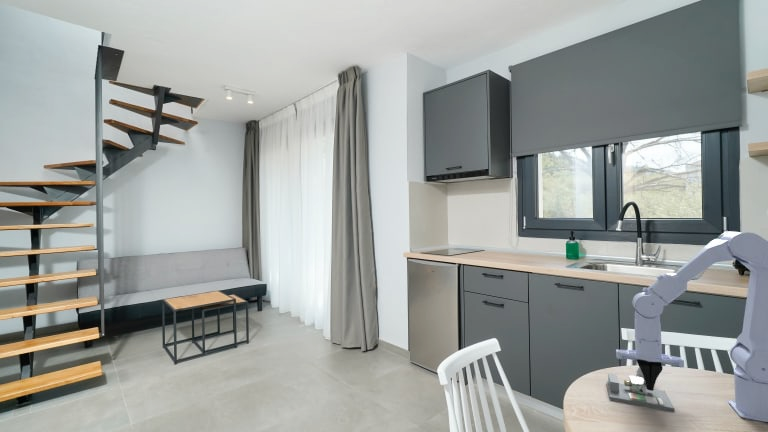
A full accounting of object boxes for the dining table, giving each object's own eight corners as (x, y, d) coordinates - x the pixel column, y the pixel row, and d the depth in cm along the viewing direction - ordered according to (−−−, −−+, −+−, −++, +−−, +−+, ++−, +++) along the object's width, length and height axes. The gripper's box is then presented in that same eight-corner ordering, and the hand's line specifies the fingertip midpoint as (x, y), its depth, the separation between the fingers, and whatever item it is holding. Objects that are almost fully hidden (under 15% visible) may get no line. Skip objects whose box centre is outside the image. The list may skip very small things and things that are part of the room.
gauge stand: (665, 393, 95) (664, 381, 95) (674, 411, 87) (674, 398, 87) (606, 383, 102) (606, 372, 102) (609, 399, 93) (609, 387, 93)
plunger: (643, 386, 97) (642, 377, 97) (648, 400, 90) (648, 390, 90) (623, 383, 99) (623, 374, 99) (627, 396, 92) (627, 386, 92)
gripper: (678, 337, 95) (680, 387, 95) (614, 330, 102) (615, 377, 101) (685, 345, 89) (687, 399, 88) (617, 338, 95) (618, 388, 95)
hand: (649, 388), depth 95 cm, fingers closed
